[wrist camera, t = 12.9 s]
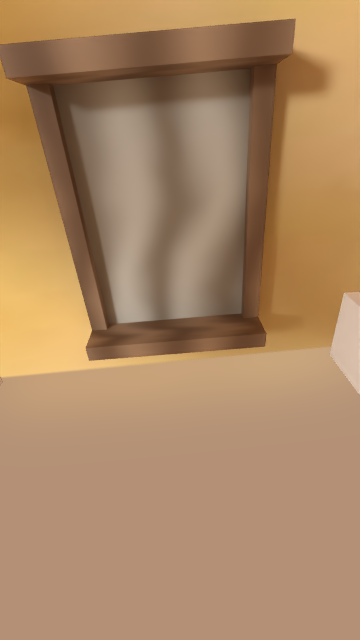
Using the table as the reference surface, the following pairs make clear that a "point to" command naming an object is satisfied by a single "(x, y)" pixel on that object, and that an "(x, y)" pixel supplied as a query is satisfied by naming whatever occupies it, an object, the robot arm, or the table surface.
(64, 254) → the table surface
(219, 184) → the wooden window with sill
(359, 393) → the robot arm
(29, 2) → the table surface
